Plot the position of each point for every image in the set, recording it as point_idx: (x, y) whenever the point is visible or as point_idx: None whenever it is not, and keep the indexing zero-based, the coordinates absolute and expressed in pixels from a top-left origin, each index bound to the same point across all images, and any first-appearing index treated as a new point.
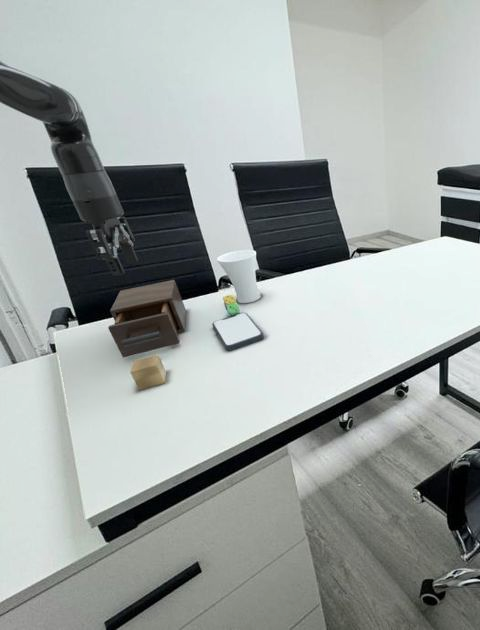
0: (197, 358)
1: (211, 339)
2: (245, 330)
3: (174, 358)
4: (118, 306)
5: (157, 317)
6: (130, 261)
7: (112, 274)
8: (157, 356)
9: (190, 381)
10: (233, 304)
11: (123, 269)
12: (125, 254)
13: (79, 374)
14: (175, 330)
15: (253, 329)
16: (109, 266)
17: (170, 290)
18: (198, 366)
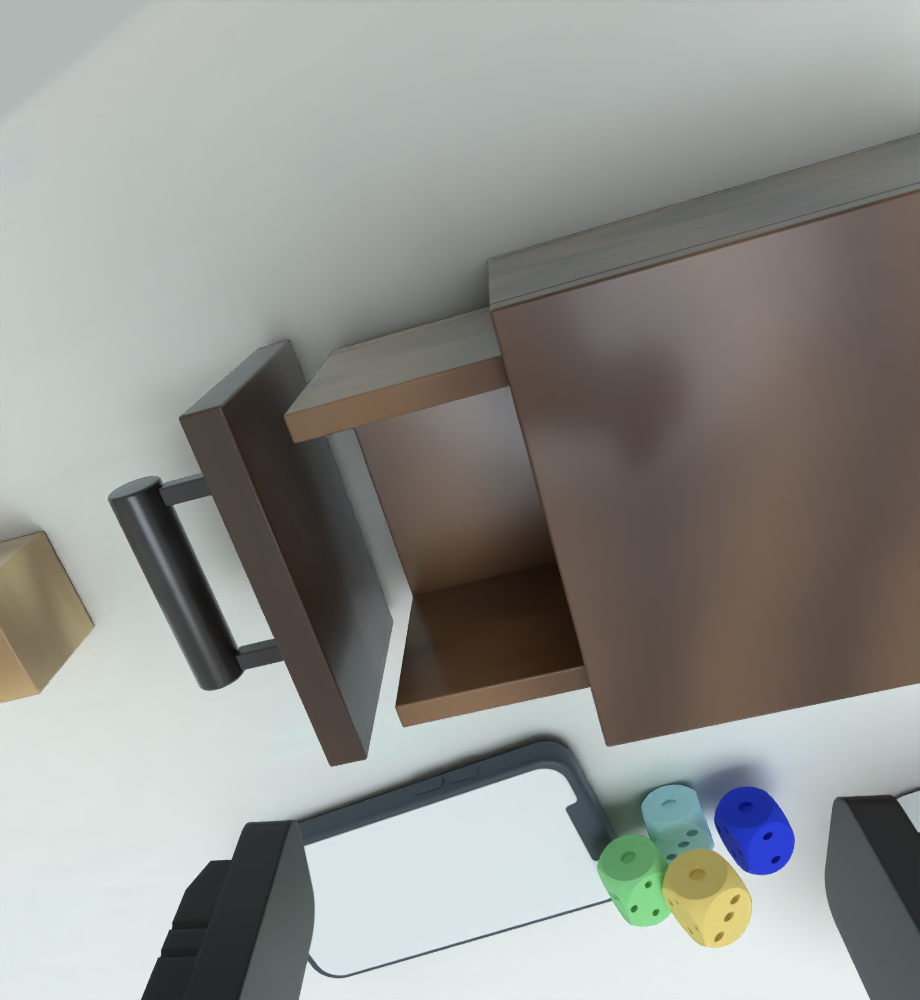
0: (208, 729)
1: (406, 746)
2: (388, 918)
3: (234, 621)
4: (586, 348)
5: (308, 706)
6: (846, 855)
7: (242, 836)
8: (17, 696)
9: (3, 749)
10: (628, 918)
11: (303, 969)
12: (909, 949)
13: (149, 93)
14: (384, 665)
15: (387, 947)
16: (151, 986)
17: (812, 691)
18: (129, 750)
